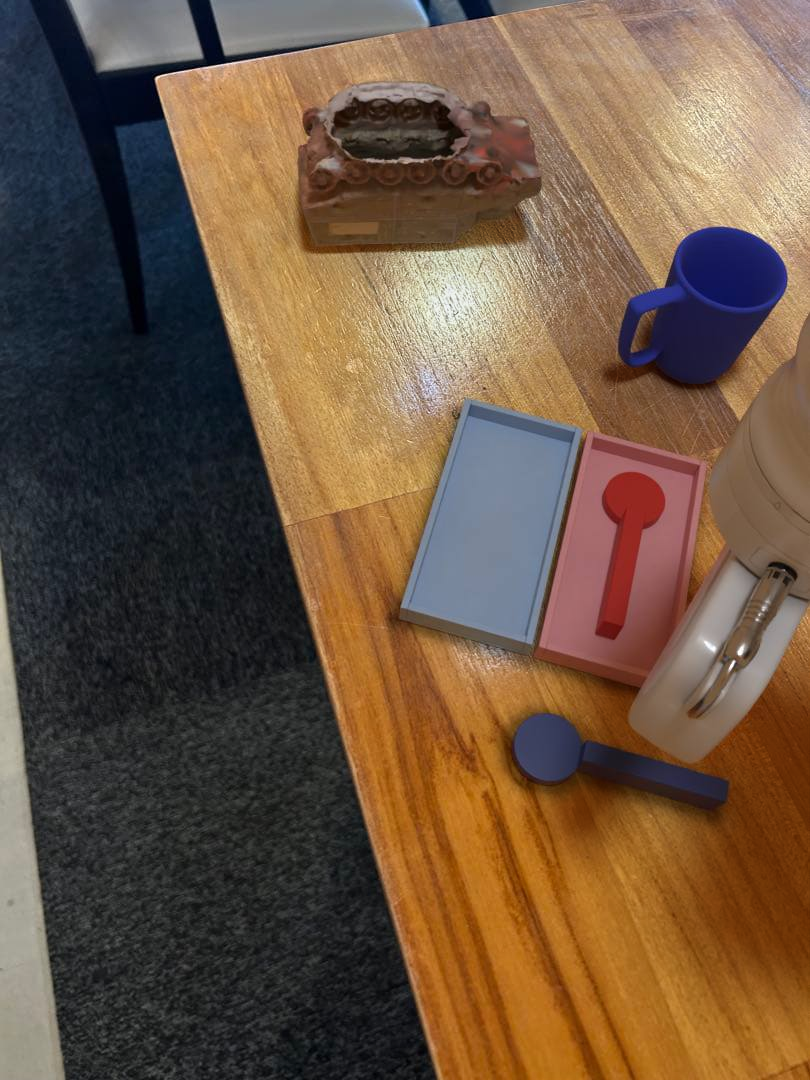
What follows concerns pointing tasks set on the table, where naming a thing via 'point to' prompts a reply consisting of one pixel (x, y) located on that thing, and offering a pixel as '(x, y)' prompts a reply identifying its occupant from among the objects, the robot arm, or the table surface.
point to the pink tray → (588, 560)
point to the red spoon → (626, 542)
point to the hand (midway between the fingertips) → (711, 623)
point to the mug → (706, 304)
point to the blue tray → (493, 527)
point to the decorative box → (410, 165)
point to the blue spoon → (606, 764)
